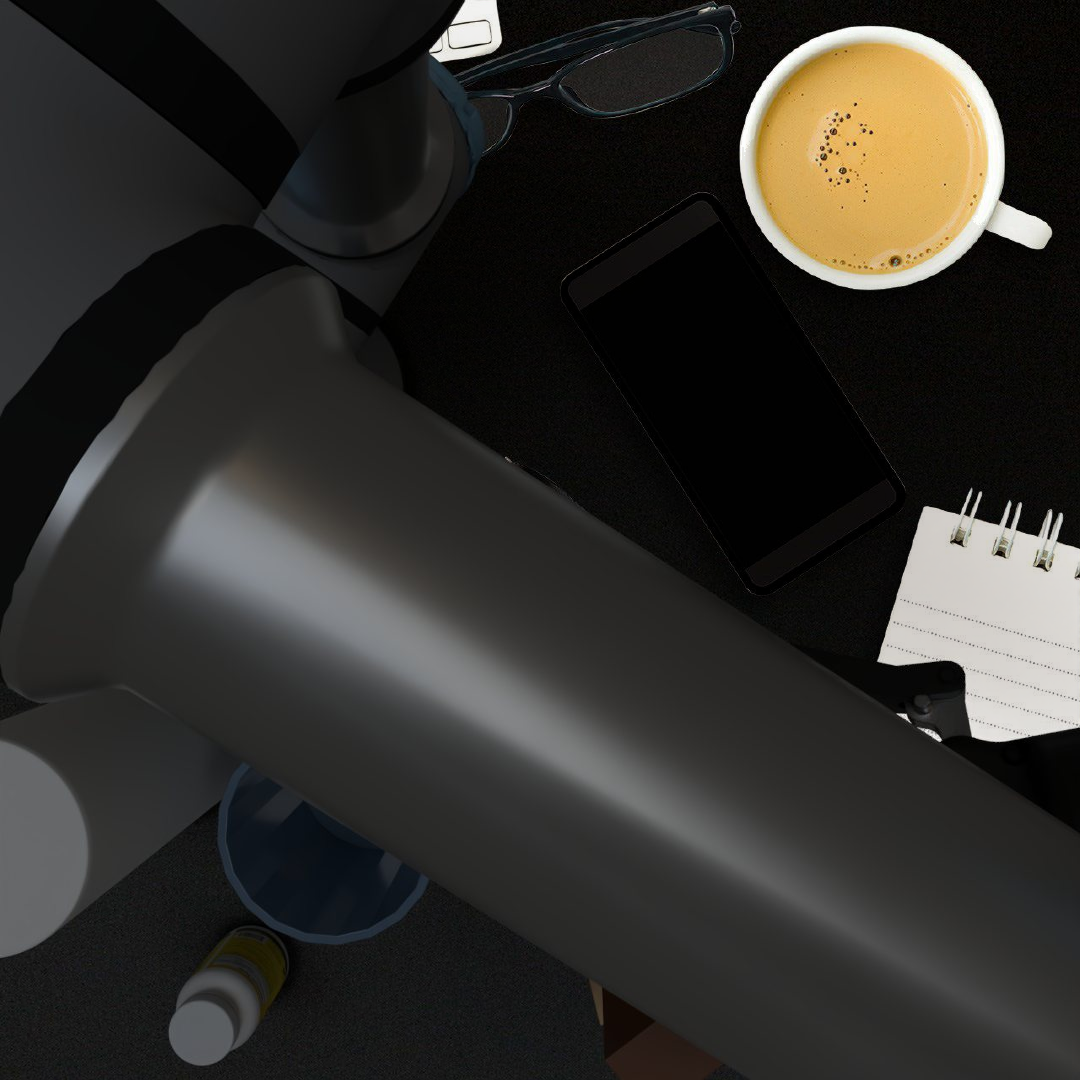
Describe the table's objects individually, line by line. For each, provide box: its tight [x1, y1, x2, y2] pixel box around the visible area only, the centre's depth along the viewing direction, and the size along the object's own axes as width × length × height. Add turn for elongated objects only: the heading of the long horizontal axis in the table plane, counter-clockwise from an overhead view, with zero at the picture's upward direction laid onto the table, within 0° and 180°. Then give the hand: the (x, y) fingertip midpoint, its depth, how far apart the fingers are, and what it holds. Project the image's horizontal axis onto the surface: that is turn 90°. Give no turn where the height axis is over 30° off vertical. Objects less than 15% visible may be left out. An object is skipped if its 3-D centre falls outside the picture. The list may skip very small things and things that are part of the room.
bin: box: [216, 762, 430, 946], centre depth 69 cm, size 14×14×16 cm
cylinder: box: [0, 689, 242, 959], centre depth 66 cm, size 12×12×25 cm
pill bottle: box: [168, 924, 290, 1067], centre depth 73 cm, size 6×6×11 cm
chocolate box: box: [602, 987, 725, 1080], centre depth 46 cm, size 5×3×11 cm, turn 129°
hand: (567, 927), depth 37 cm, fingers open, 13 cm apart
